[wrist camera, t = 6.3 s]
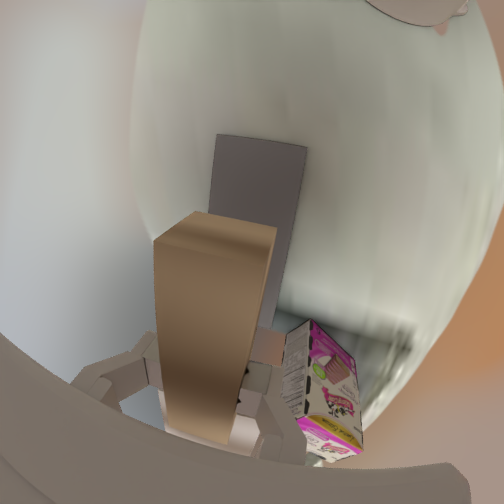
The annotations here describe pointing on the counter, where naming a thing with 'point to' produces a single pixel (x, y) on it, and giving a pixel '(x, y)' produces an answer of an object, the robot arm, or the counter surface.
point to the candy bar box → (322, 392)
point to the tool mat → (259, 196)
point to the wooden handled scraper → (209, 324)
